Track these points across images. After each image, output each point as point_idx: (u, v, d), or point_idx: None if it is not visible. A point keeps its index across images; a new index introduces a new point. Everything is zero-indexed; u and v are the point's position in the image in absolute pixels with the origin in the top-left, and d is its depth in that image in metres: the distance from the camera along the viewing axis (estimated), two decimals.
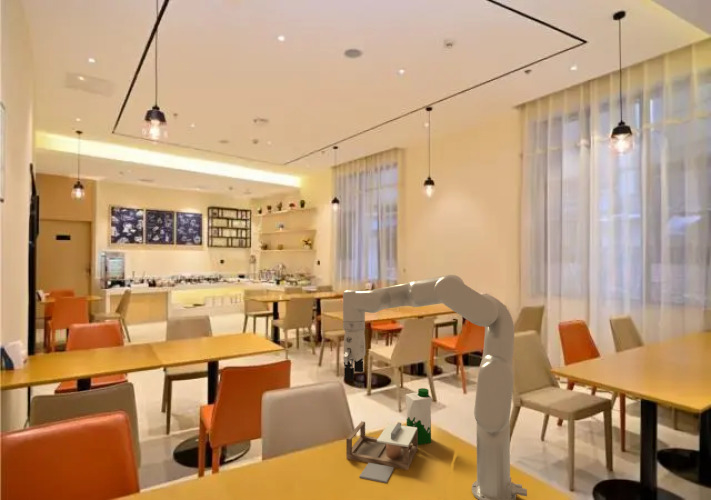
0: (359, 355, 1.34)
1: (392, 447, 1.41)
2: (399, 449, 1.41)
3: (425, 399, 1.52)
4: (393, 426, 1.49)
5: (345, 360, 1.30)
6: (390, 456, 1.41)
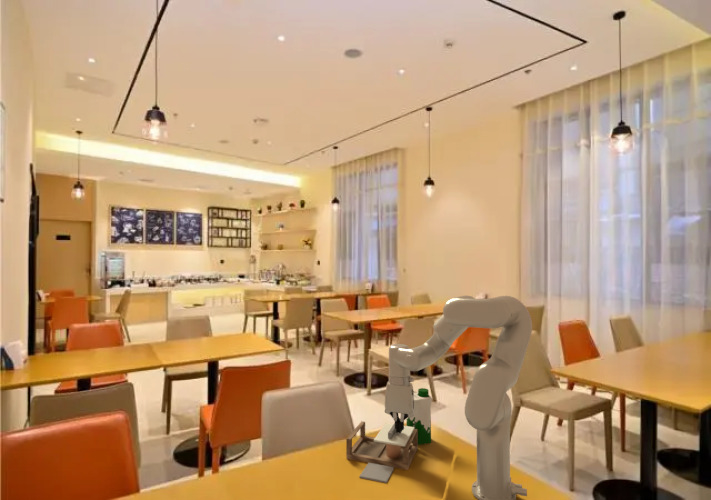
0: None
1: (392, 447, 1.41)
2: (399, 449, 1.41)
3: (425, 399, 1.52)
4: (390, 426, 1.49)
5: None
6: (390, 456, 1.41)
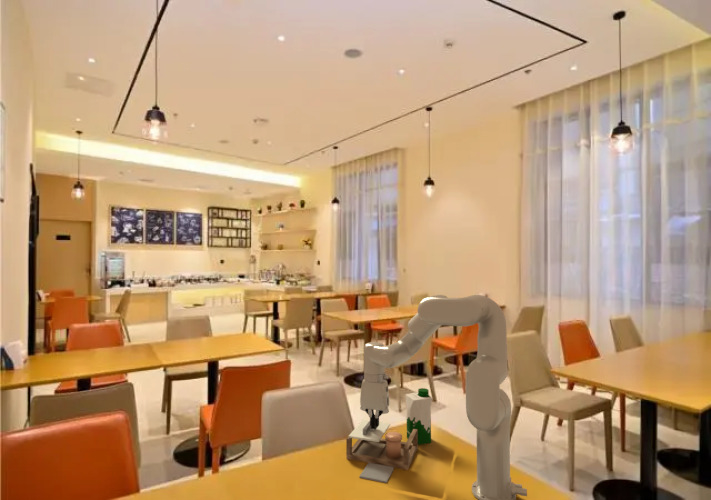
0: None
1: (392, 447, 1.41)
2: (399, 449, 1.41)
3: (425, 399, 1.52)
4: (367, 422, 1.52)
5: None
6: (390, 456, 1.41)
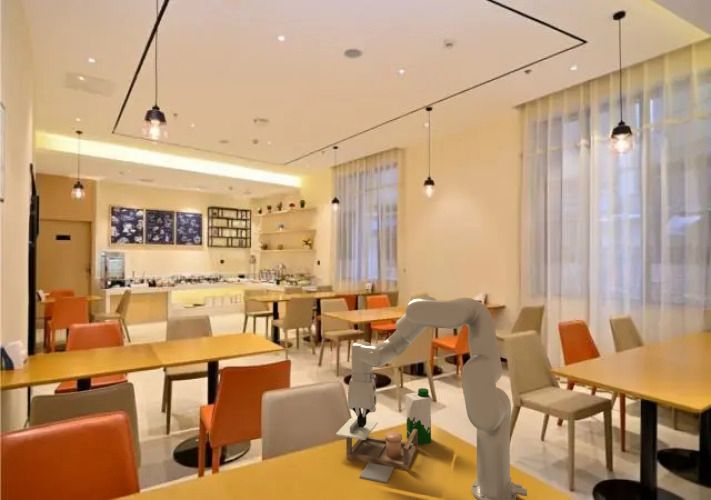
0: None
1: (392, 447, 1.41)
2: (399, 449, 1.41)
3: (425, 399, 1.52)
4: (355, 420, 1.54)
5: None
6: (390, 456, 1.41)
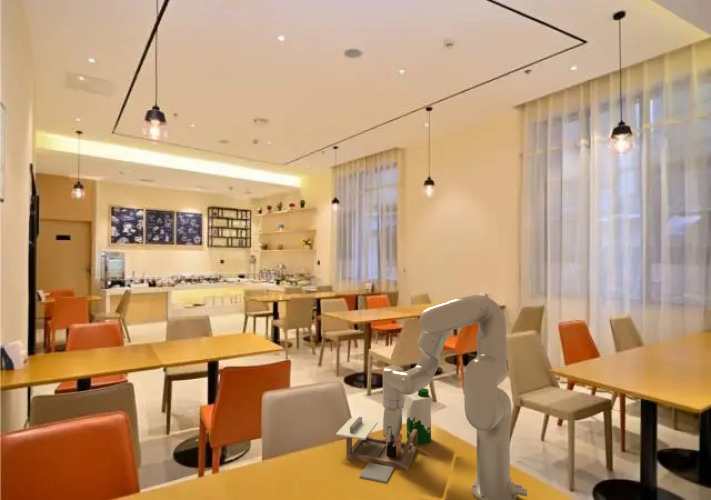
0: None
1: None
2: (399, 449, 1.41)
3: (425, 399, 1.52)
4: (355, 420, 1.54)
5: None
6: None
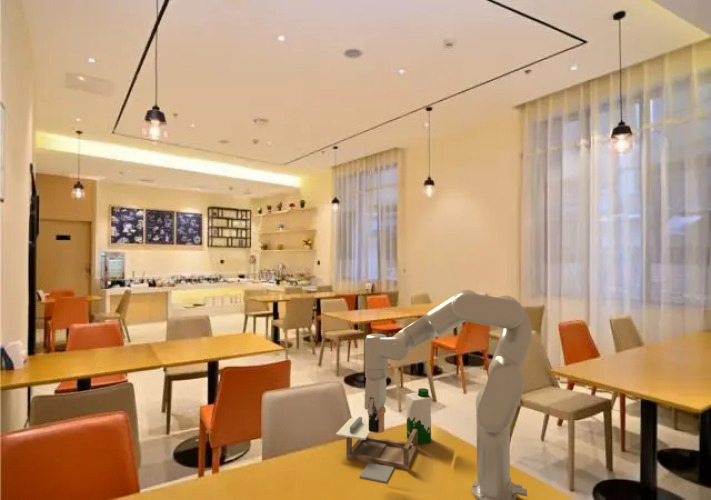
0: None
1: None
2: (382, 423, 1.30)
3: (425, 399, 1.52)
4: (355, 420, 1.54)
5: None
6: None
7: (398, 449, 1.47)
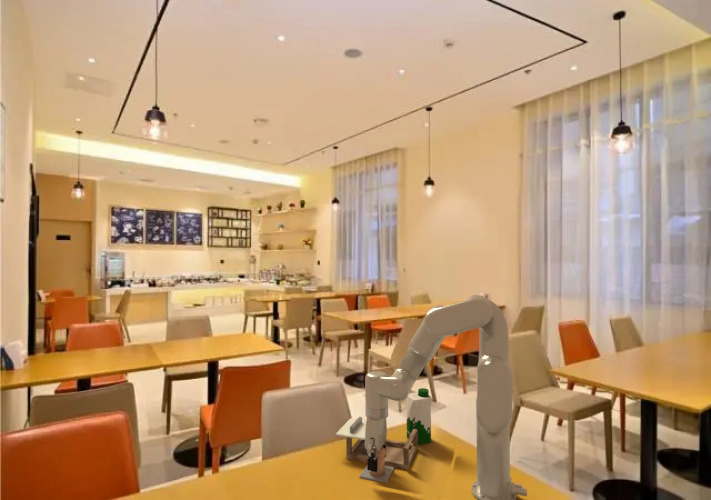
0: None
1: None
2: (383, 466, 1.29)
3: (425, 399, 1.52)
4: (355, 420, 1.54)
5: None
6: (373, 473, 1.29)
7: (398, 449, 1.47)
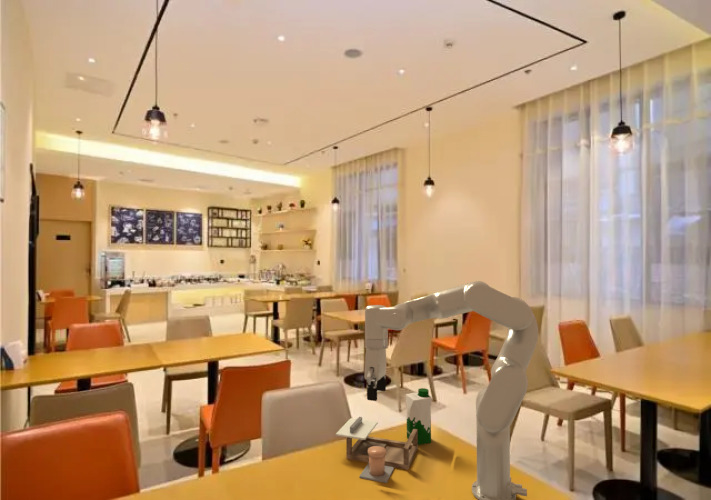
0: None
1: (374, 463, 1.29)
2: (383, 466, 1.29)
3: (425, 399, 1.52)
4: (355, 420, 1.54)
5: None
6: (373, 473, 1.29)
7: (398, 449, 1.47)
